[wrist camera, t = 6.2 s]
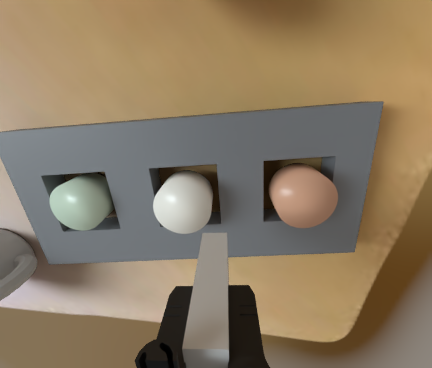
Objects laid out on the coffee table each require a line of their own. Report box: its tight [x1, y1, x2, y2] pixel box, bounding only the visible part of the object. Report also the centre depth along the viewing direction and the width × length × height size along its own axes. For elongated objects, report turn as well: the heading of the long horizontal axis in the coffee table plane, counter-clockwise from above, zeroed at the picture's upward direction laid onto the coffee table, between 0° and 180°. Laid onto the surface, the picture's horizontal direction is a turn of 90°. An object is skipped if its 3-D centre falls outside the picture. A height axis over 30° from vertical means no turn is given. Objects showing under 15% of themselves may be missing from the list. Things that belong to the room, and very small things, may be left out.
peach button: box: [269, 163, 338, 228], centre depth 18 cm, size 5×5×3 cm
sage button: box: [50, 173, 115, 231], centre depth 21 cm, size 5×5×3 cm
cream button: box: [153, 170, 213, 234], centre depth 19 cm, size 5×5×3 cm
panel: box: [0, 102, 383, 265], centre depth 21 cm, size 32×14×2 cm, turn 94°
